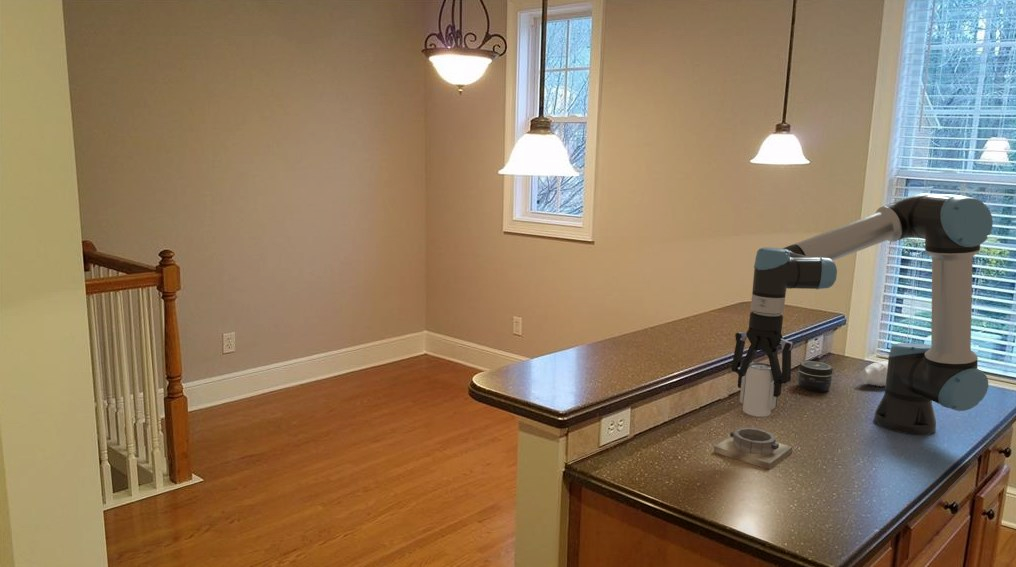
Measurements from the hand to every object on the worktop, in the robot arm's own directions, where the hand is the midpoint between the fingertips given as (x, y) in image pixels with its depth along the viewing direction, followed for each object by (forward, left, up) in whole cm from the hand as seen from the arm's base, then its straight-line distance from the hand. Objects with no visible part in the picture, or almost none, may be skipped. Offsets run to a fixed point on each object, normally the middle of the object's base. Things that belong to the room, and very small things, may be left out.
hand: (757, 404), depth 180 cm
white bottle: (-8, -86, -13) cm, 88 cm away
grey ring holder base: (0, 0, -12) cm, 12 cm away
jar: (+8, -65, -13) cm, 67 cm away
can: (0, 0, -2) cm, 2 cm away
